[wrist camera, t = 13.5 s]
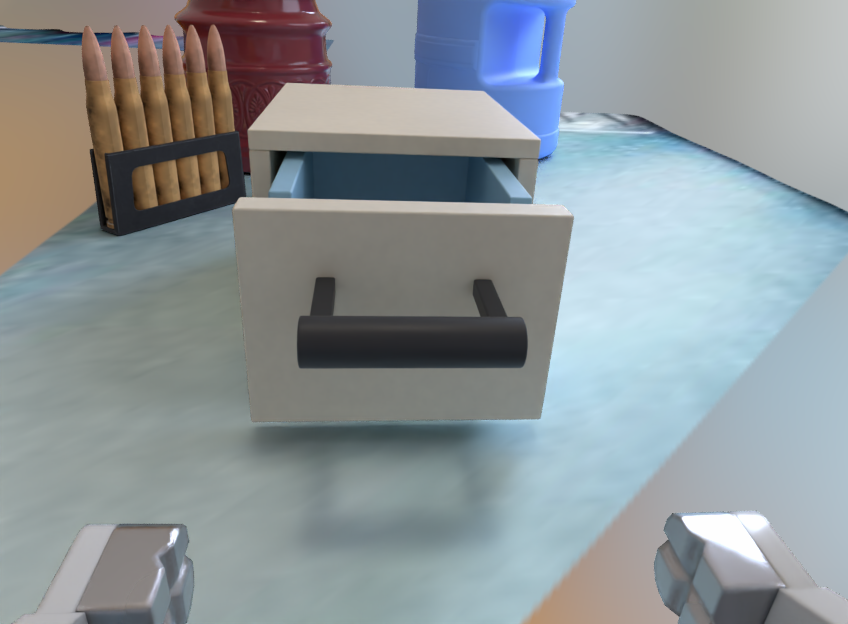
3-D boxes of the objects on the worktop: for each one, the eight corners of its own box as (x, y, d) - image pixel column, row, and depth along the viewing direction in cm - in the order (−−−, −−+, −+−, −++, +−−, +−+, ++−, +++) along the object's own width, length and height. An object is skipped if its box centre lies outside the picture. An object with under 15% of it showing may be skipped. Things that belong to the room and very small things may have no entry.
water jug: (382, 147, 66) (388, -189, 53) (454, 126, 78) (474, -151, 65) (520, 173, 59) (565, -206, 46) (576, 146, 71) (624, -160, 58)
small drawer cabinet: (514, 345, 30) (541, 139, 25) (263, 345, 29) (247, 129, 24) (470, 242, 42) (484, 90, 37) (293, 239, 41) (285, 82, 36)
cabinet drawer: (576, 505, 19) (626, 270, 16) (227, 514, 18) (196, 265, 15) (483, 280, 34) (498, 133, 31) (288, 277, 33) (281, 126, 30)
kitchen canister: (359, 165, 58) (360, -54, 50) (224, 183, 51) (200, -71, 43) (294, 138, 67) (286, -52, 59) (171, 149, 60) (142, -65, 52)
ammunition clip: (230, 194, 49) (215, 23, 43) (247, 199, 48) (233, 25, 42) (100, 229, 40) (61, 24, 35) (117, 236, 40) (80, 27, 34)
